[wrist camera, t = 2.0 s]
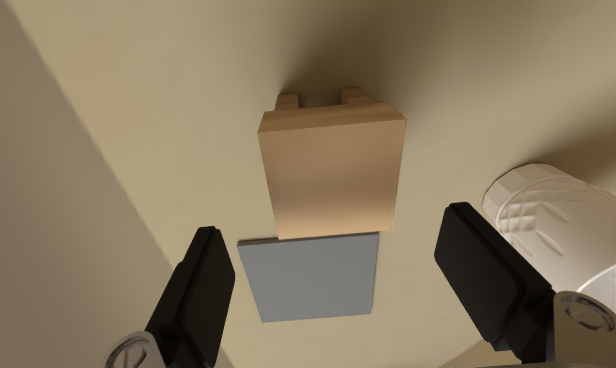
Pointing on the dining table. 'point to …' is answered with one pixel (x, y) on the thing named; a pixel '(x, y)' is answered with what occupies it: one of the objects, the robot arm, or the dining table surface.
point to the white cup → (558, 228)
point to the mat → (311, 275)
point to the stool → (332, 164)
